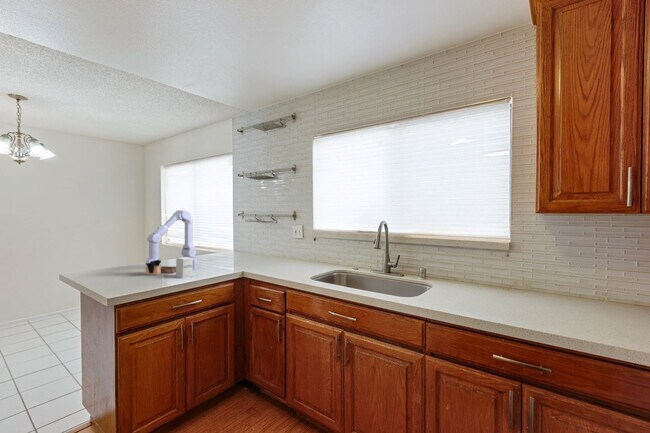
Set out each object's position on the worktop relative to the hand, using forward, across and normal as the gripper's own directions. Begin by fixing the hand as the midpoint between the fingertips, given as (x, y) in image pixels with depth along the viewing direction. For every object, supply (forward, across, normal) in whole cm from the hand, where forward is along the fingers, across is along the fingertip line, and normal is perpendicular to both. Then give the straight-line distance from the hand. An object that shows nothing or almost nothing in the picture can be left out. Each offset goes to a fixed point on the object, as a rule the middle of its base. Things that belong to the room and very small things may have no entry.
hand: (153, 272), depth 202 cm
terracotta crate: (+1, 0, 0) cm, 1 cm away
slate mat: (+2, -5, +2) cm, 6 cm away
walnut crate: (+2, -8, +5) cm, 10 cm away
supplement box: (+2, +5, +22) cm, 23 cm away
